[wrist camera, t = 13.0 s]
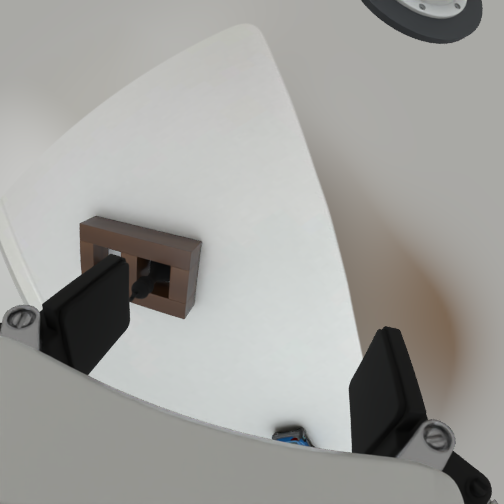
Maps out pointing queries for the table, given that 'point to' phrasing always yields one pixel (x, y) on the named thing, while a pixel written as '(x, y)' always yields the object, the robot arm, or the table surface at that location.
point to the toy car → (293, 437)
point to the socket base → (146, 260)
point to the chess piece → (150, 280)
